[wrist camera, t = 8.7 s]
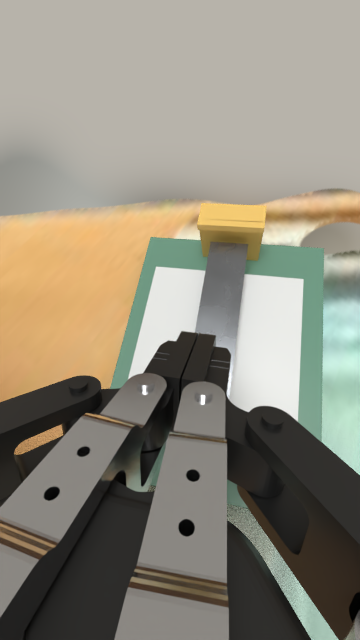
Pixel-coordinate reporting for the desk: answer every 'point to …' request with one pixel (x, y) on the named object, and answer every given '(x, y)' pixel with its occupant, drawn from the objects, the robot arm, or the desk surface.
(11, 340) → the desk surface
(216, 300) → the gray flat bar
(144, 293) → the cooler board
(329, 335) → the desk surface
